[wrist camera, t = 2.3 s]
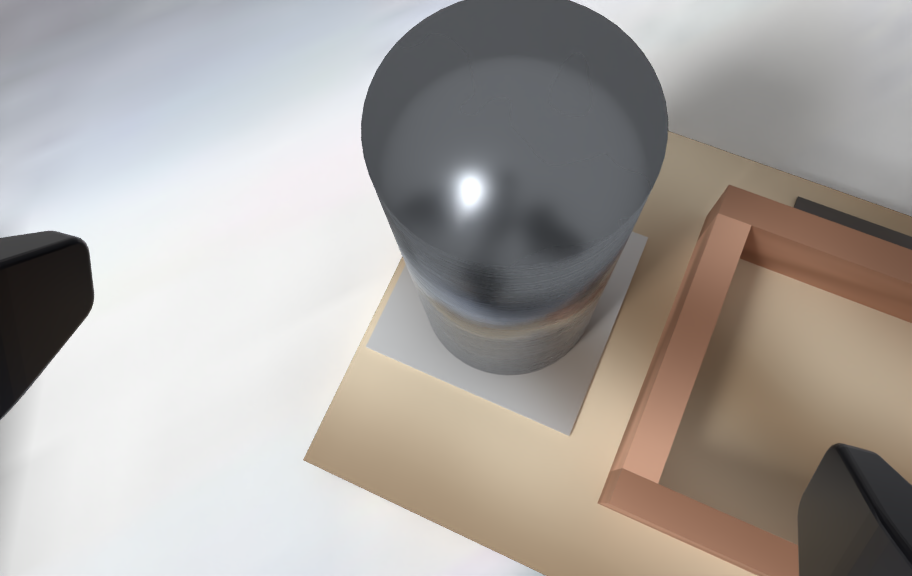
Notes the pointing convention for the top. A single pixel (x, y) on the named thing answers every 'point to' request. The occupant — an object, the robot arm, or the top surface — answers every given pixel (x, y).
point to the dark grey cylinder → (513, 170)
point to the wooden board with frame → (656, 387)
